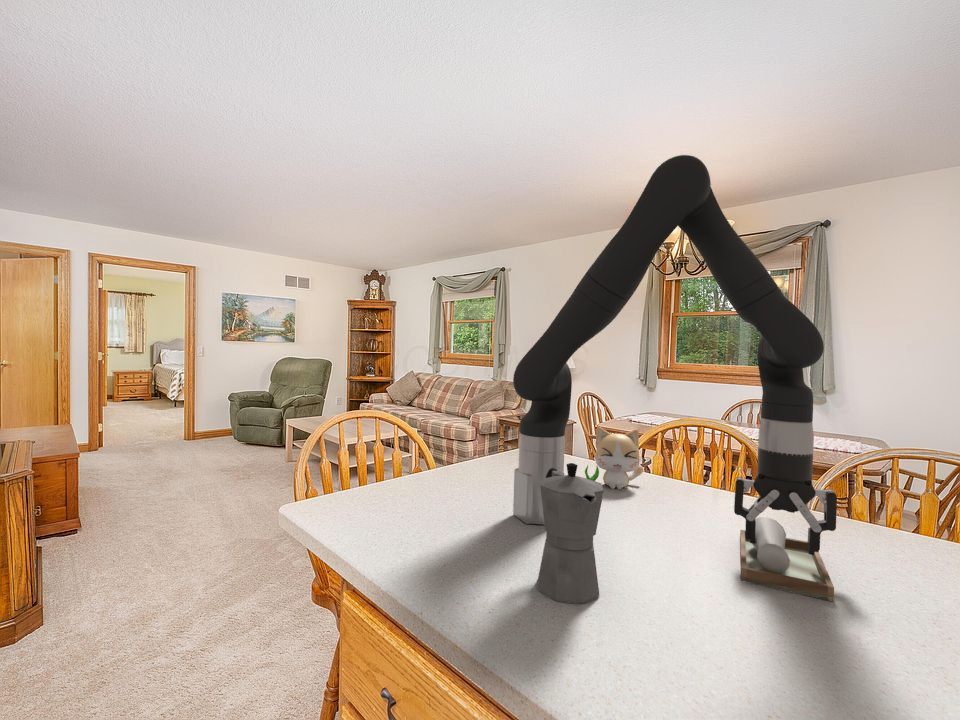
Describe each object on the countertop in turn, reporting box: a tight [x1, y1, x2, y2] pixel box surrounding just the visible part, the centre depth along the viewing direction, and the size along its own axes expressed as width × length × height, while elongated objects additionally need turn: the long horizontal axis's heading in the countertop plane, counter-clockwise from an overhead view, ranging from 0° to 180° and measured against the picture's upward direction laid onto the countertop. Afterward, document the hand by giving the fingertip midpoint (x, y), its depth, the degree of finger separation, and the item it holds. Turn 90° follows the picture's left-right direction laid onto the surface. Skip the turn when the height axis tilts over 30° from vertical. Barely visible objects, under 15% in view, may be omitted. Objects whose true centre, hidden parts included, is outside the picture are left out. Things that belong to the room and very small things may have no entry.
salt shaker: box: [749, 516, 790, 574], centre depth 78 cm, size 6×6×13 cm
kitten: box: [584, 426, 644, 491], centre depth 122 cm, size 15×10×15 cm, turn 76°
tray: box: [739, 529, 835, 603], centre depth 77 cm, size 18×11×2 cm, turn 151°
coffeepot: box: [536, 462, 605, 605], centre depth 69 cm, size 15×9×18 cm, turn 13°
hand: (780, 547), depth 77 cm, fingers open, 7 cm apart
